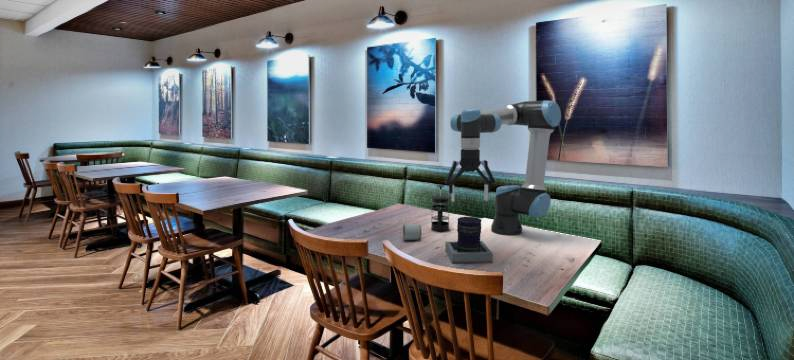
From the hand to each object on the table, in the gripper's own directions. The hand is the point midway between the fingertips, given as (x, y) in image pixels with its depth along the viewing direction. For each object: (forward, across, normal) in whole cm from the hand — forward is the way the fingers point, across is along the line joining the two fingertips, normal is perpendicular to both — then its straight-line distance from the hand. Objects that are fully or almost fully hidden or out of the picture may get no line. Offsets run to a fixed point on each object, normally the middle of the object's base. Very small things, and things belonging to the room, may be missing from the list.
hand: (469, 200), depth 169 cm
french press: (+24, -5, +41) cm, 48 cm away
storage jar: (+23, 0, 0) cm, 23 cm away
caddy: (+24, 0, 0) cm, 24 cm away
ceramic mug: (+24, -22, +26) cm, 42 cm away
